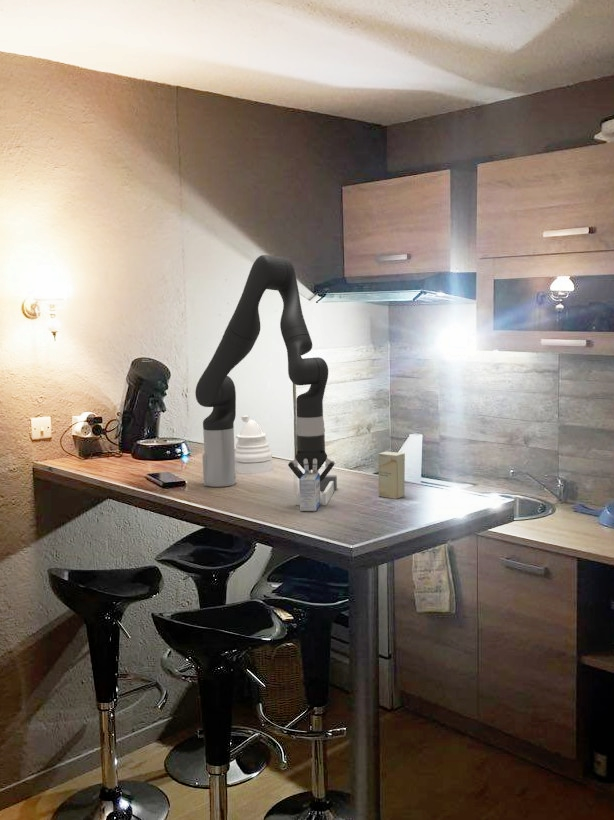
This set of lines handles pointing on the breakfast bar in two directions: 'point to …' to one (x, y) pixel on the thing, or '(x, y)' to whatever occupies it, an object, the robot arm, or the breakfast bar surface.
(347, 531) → the breakfast bar surface
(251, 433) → the honey pot
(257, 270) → the robot arm
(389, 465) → the skincare box
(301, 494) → the medicine box
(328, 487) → the channel
